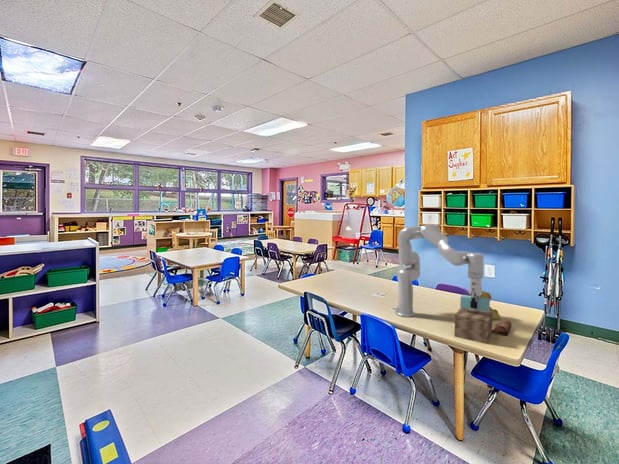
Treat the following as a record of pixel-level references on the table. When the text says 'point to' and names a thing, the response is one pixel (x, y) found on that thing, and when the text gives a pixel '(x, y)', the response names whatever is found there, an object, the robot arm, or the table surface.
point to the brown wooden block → (473, 324)
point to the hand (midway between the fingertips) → (474, 306)
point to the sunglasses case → (502, 328)
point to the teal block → (482, 303)
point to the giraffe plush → (495, 312)
